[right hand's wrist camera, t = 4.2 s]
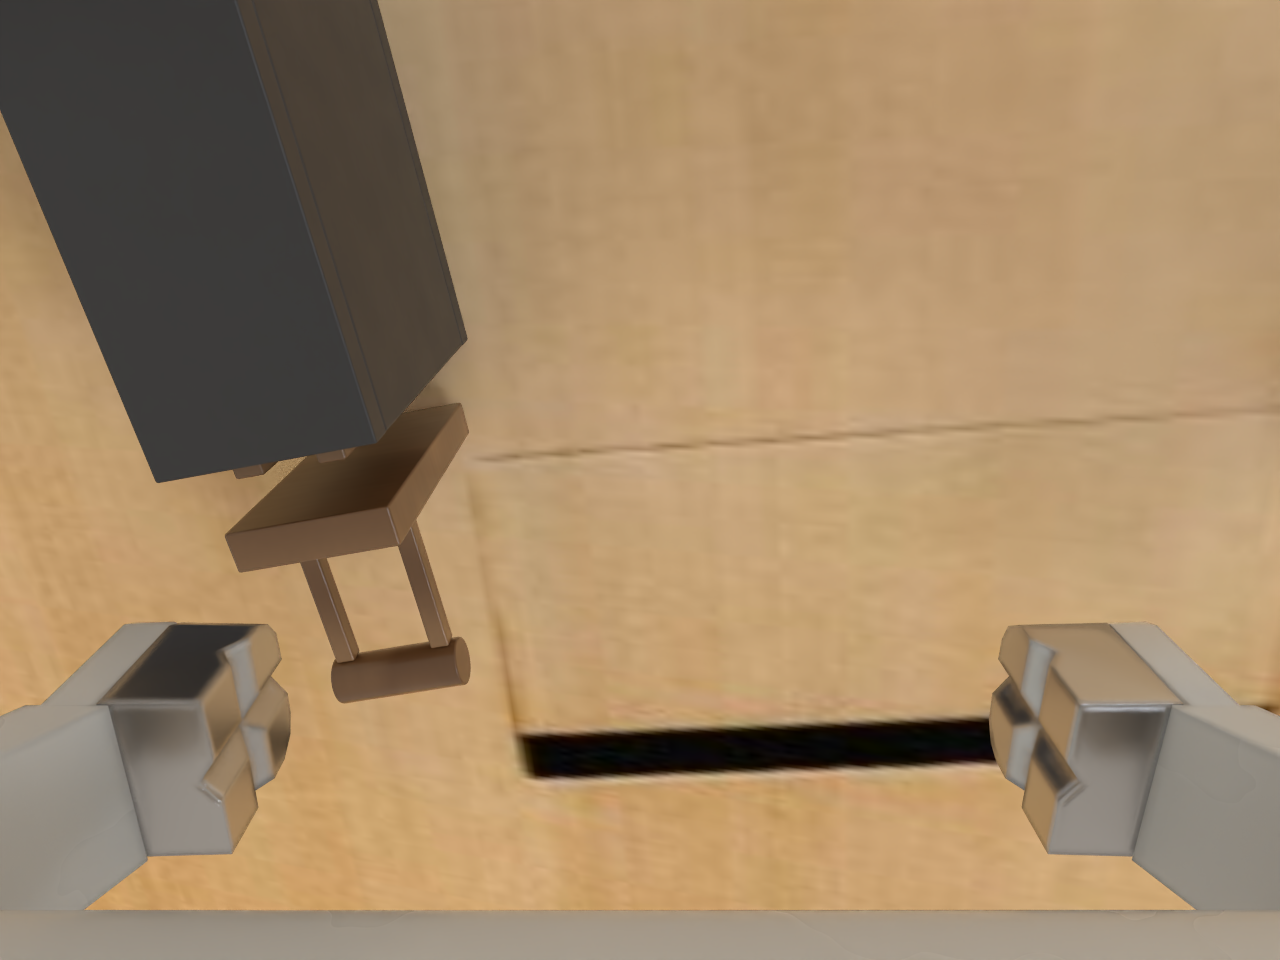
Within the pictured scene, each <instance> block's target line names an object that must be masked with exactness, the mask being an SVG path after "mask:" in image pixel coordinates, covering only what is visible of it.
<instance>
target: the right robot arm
mask: <svg viewBox="0 0 1280 960" xmlns="http://www.w3.org/2000/svg"><path fill="white" fill-rule="evenodd" d="M281 659H282V658H281V654H280V649H279V644H278V639H277V635H276V632H275V631H274V630H273V629H272V628H271V627H270V626H269V625H268V624H228V623H176V622H141V623H131V624H125V625H123V626H122V627H121V628H120V629H119V630H118V631H117V632H116V633H115V634H114V635H113V636H112V637H111V638H110V639H109V640H108V641H107V642H106V643H105V644H104V645H103V646H101V647H100V648H99V649H98V650H97V651H96V652H95V653H94V654H93V655H92V656H91V657H90V658H89V659H88V660H87V661H86V662H85V663H84V664H83V665H82V666H81V667H80V668H79V669H78V670H77V671H76V672H75V673H74V674H72V675H71V676H70V677H69V678H68V679H67V680H66V681H65V682H64V683H63V684H62V685H61V686H60V687H59V688H58V689H57V690H56V691H55V692H54V693H53V694H52V695H51V696H50V697H49V698H48V699H47V700H46V701H44V702H43V703H42V704H41V705H25V706H23V707H20V708H18V709H16V710H13V711H11V712H9V713H6V714H4V715H2V716H0V960H1280V716H1278V715H1276V714H1273V713H1271V712H1269V711H1267V710H1264V709H1262V708H1260V707H1257V706H1255V705H1239V704H1238V703H1237V702H1236V701H1235V700H1234V699H1232V698H1231V697H1230V696H1229V695H1228V694H1227V693H1226V692H1225V691H1224V690H1223V689H1222V688H1221V687H1220V686H1219V685H1218V684H1217V683H1216V682H1215V681H1214V680H1213V679H1212V678H1211V677H1210V676H1209V675H1208V674H1207V673H1206V672H1205V671H1204V670H1203V669H1201V668H1200V667H1199V666H1198V665H1197V664H1196V663H1195V662H1194V661H1193V660H1192V659H1191V658H1190V657H1189V656H1188V655H1187V654H1186V653H1185V652H1184V651H1183V650H1182V649H1181V648H1180V647H1179V646H1178V645H1177V644H1176V643H1175V642H1174V641H1173V640H1172V639H1170V638H1169V637H1168V636H1167V635H1166V634H1165V633H1164V632H1163V631H1162V630H1161V629H1160V628H1159V627H1158V626H1157V625H1154V624H1151V623H1148V622H1120V623H1083V624H1042V625H1015V626H1008V628H1007V630H1006V632H1005V634H1004V636H1003V638H1002V642H1001V647H1000V653H999V658H998V659H999V661H1000V662H1001V664H1002V665H1003V667H1004V669H1005V670H1006V672H1007V673H1008V675H1009V677H1008V678H1007V679H1006V680H1005V681H1004V682H1003V683H1002V684H1001V685H1000V686H999V687H998V688H997V689H996V690H995V691H994V692H993V693H992V701H991V708H990V716H989V724H990V735H991V745H992V748H993V751H994V754H995V758H996V761H997V763H998V765H999V767H1000V769H1001V771H1002V773H1003V774H1004V776H1005V778H1006V779H1008V780H1009V781H1011V782H1012V783H1014V784H1015V785H1017V786H1018V787H1020V788H1021V789H1023V790H1025V792H1024V798H1023V803H1022V809H1023V811H1024V812H1025V814H1026V816H1027V818H1028V820H1029V821H1030V823H1031V825H1032V827H1033V828H1034V830H1035V832H1036V834H1037V835H1038V837H1039V839H1040V841H1041V843H1042V844H1043V846H1044V848H1045V850H1046V851H1047V853H1048V854H1064V855H1101V856H1133V858H1132V860H1133V861H1134V862H1135V863H1136V864H1138V865H1139V866H1140V867H1142V868H1143V869H1144V870H1145V871H1147V872H1148V873H1149V874H1151V875H1152V876H1153V877H1155V878H1156V879H1157V880H1158V881H1160V882H1161V883H1162V884H1164V885H1165V886H1166V887H1168V888H1169V889H1170V890H1171V891H1173V892H1174V893H1175V894H1177V895H1178V896H1179V897H1180V898H1182V899H1183V900H1184V901H1186V902H1187V903H1188V904H1190V905H1191V906H1192V907H1193V908H1195V909H1196V910H84V909H86V908H87V907H88V906H89V905H91V904H92V903H93V902H95V901H96V900H97V899H99V898H100V897H101V896H102V895H104V894H105V893H106V892H108V891H109V890H110V889H112V888H113V887H114V886H115V885H117V884H118V883H119V882H121V881H122V880H123V879H124V878H126V877H127V876H128V875H130V874H131V873H132V872H134V871H135V870H136V869H137V868H139V867H140V866H141V865H143V864H144V863H145V862H147V860H148V858H147V856H178V855H214V854H232V853H233V852H234V850H235V848H236V846H237V844H238V843H239V841H240V839H241V837H242V836H243V834H244V832H245V830H246V828H247V827H248V825H249V823H250V821H251V820H252V818H253V816H254V814H255V812H256V811H257V809H258V803H257V798H256V792H255V790H257V789H259V788H260V787H262V786H263V785H265V784H266V783H268V782H269V781H271V780H272V779H274V778H275V776H276V774H277V772H278V771H279V769H280V767H281V765H282V763H283V761H284V759H285V755H286V750H287V746H288V742H289V737H290V706H289V700H288V693H287V692H286V691H285V690H284V689H283V688H282V687H281V686H280V685H279V684H278V683H277V682H276V681H275V680H274V679H273V678H272V677H271V675H272V673H273V672H274V670H275V669H276V667H277V665H278V664H279V662H280V661H281Z"/></svg>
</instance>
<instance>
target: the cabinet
mask: <svg viewBox="0 0 1280 960" xmlns="http://www.w3.org/2000/svg"><path fill="white" fill-rule="evenodd" d="M0 111H1V113H2V115H3V118H4V120H5V123H6V125H7V127H8V130H9V132H10V134H11V137H12V139H13V142H14V144H15V146H16V149H17V151H18V154H19V156H20V158H21V161H22V163H23V166H24V168H25V170H26V173H27V175H28V177H29V180H30V182H31V185H32V187H33V189H34V192H35V194H36V197H37V199H38V201H39V204H40V206H41V209H42V211H43V213H44V216H45V218H46V220H47V223H48V225H49V228H50V230H51V232H52V235H53V237H54V240H55V242H56V244H57V247H58V249H59V252H60V254H61V256H62V259H63V261H64V263H65V266H66V268H67V271H68V273H69V275H70V278H71V280H72V283H73V285H74V287H75V290H76V292H77V295H78V297H79V299H80V302H81V304H82V306H83V309H84V311H85V314H86V316H87V318H88V321H89V323H90V326H91V328H92V330H93V333H94V335H95V337H96V340H97V342H98V345H99V347H100V349H101V352H102V354H103V357H104V359H105V361H106V364H107V366H108V369H109V371H110V373H111V376H112V378H113V380H114V383H115V385H116V388H117V390H118V392H119V395H120V397H121V400H122V402H123V404H124V407H125V409H126V412H127V414H128V416H129V419H130V421H131V423H132V426H133V428H134V431H135V433H136V435H137V438H138V440H139V443H140V445H141V447H142V450H143V452H144V455H145V457H146V459H147V462H148V464H149V466H150V469H151V471H152V474H153V476H154V478H155V481H156V482H157V483H161V482H167V481H172V480H178V479H183V478H189V477H194V476H200V475H205V474H211V473H216V472H222V471H227V470H233V469H238V468H244V467H249V466H255V465H260V464H266V463H271V462H277V461H282V460H288V459H293V458H299V457H304V456H310V455H315V454H321V453H326V452H332V451H337V450H343V449H348V448H354V447H359V446H365V445H370V444H376V443H377V442H378V441H379V440H380V439H381V437H382V436H383V435H384V434H385V433H386V431H387V430H388V429H389V427H390V426H391V425H392V424H393V423H394V422H395V421H396V419H397V418H398V417H399V416H400V415H401V414H402V413H403V411H404V410H405V409H406V408H407V407H408V406H409V405H410V404H411V402H412V401H413V400H414V399H415V398H416V397H417V396H418V394H419V393H420V392H421V391H422V390H423V389H424V388H425V386H426V385H427V384H428V383H429V382H430V381H431V380H432V378H433V377H434V376H435V375H436V374H437V373H438V372H439V370H440V369H441V368H442V367H443V366H444V365H445V364H446V363H447V361H448V360H449V359H450V358H451V357H452V356H453V355H454V353H455V352H456V351H457V350H458V349H459V348H460V347H461V345H463V344H464V343H465V342H466V341H467V335H466V331H465V328H464V324H463V320H462V316H461V313H460V309H459V305H458V302H457V298H456V294H455V290H454V287H453V283H452V279H451V275H450V272H449V268H448V264H447V260H446V257H445V253H444V249H443V245H442V242H441V238H440V234H439V230H438V227H437V223H436V219H435V215H434V212H433V208H432V204H431V200H430V197H429V193H428V189H427V185H426V182H425V178H424V174H423V170H422V167H421V163H420V159H419V155H418V152H417V148H416V144H415V140H414V137H413V133H412V129H411V126H410V122H409V118H408V114H407V111H406V107H405V103H404V99H403V96H402V92H401V88H400V84H399V81H398V77H397V73H396V69H395V66H394V62H393V58H392V54H391V51H390V47H389V43H388V39H387V36H386V32H385V28H384V24H383V21H382V17H381V13H380V9H379V6H378V2H377V0H0Z"/></svg>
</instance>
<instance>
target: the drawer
mask: <svg viewBox="0 0 1280 960" xmlns="http://www.w3.org/2000/svg"><path fill="white" fill-rule="evenodd" d="M468 433H469V430H468V426H467V423H466V419H465V416H464V412H463V408H462V405H461V403H456V404H450V405H445V406H439V407H434V408H429V409H423V410H418V411H412V412H407V413H402V414H401V415H400V416H399V417H398V418H397V419H396V421H395V422H394V423H393V424H392V425H391V426H390V427H389V429H388V430H387V431H386V433H385V434H384V435H383V436H382V437H381V439H380V440H379V441H378V442H377V443H376V444H370V445H365V446H359V447H354V448H348V449H343V450H337V451H332V452H326V453H321V454H315V455H310V456H307V457H306V458H305V459H304V460H303V461H302V462H301V463H300V464H299V465H298V466H296V467H295V468H294V469H293V470H292V471H291V472H290V473H289V474H288V475H287V476H286V477H285V478H284V479H283V480H282V481H281V482H280V483H279V484H278V485H277V486H276V487H274V488H273V489H272V490H271V491H270V492H269V493H268V494H267V495H266V496H265V497H264V498H263V499H262V500H261V501H260V502H259V503H258V504H257V505H256V506H255V507H254V508H252V509H251V510H250V511H249V512H248V513H247V514H246V515H245V516H244V517H243V518H242V519H241V520H240V521H239V522H238V523H237V524H236V525H235V526H234V527H233V528H232V529H230V530H229V531H228V532H227V533H226V534H225V538H226V541H227V543H228V546H229V548H230V551H231V553H232V556H233V558H234V561H235V563H236V566H237V568H238V571H239V572H247V571H253V570H259V569H264V568H270V567H276V566H282V565H288V564H294V563H301V566H302V568H303V571H304V574H305V577H306V579H307V582H308V585H309V587H310V590H311V593H312V596H313V598H314V601H315V604H316V606H317V609H318V612H319V615H320V617H321V620H322V623H323V625H324V628H325V631H326V634H327V636H328V639H329V642H330V644H331V647H332V650H333V652H334V655H335V658H336V659H335V661H334V663H333V666H332V671H331V681H332V688H333V691H334V694H335V696H336V698H337V699H338V701H339V702H341V703H350V702H357V701H363V700H370V699H376V698H383V697H389V696H395V695H402V694H408V693H415V692H421V691H427V690H434V689H440V688H447V687H453V686H460V685H465V684H467V683H468V681H469V677H470V656H469V652H468V648H467V645H466V643H465V641H464V639H463V638H461V637H455V638H452V634H451V630H450V627H449V624H448V621H447V617H446V614H445V611H444V608H443V605H442V601H441V598H440V595H439V592H438V588H437V585H436V582H435V579H434V576H433V572H432V569H431V566H430V563H429V560H428V556H427V553H426V550H425V547H424V543H423V540H422V537H421V534H420V531H419V527H418V524H417V521H416V519H417V517H418V515H419V514H420V512H421V510H422V509H423V507H424V505H425V504H426V502H427V500H428V499H429V497H430V496H431V494H432V492H433V491H434V489H435V487H436V486H437V484H438V482H439V481H440V479H441V477H442V476H443V474H444V473H445V471H446V469H447V468H448V466H449V464H450V463H451V461H452V459H453V458H454V456H455V454H456V453H457V451H458V450H459V448H460V446H461V445H462V443H463V441H464V440H465V438H466V436H467V435H468ZM277 462H278V461H277ZM277 462H271V463H266V464H260V465H255V466H249V467H244V468H238V469H233V471H234V474H235V476H236V478H237V479H242V478H247V477H253V476H258V475H263V474H265V473H266V472H267V471H268V470H269V469H270V468H271V467H273V466H274V465H275V464H276V463H277ZM393 546H398V547H399V550H400V553H401V556H402V559H403V563H404V566H405V569H406V572H407V575H408V578H409V581H410V584H411V587H412V590H413V594H414V597H415V600H416V603H417V606H418V609H419V612H420V615H421V618H422V621H423V625H424V628H425V631H426V634H427V637H428V640H429V642H424V643H417V644H411V645H405V646H399V647H392V648H386V649H380V650H374V651H368V652H361V653H359V648H358V645H357V642H356V640H355V637H354V634H353V631H352V628H351V626H350V623H349V620H348V617H347V614H346V612H345V609H344V606H343V603H342V600H341V598H340V595H339V592H338V589H337V586H336V584H335V581H334V578H333V575H332V572H331V570H330V567H329V564H328V561H327V558H329V557H335V556H340V555H346V554H352V553H358V552H364V551H370V550H376V549H381V548H387V547H393Z"/></svg>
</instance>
